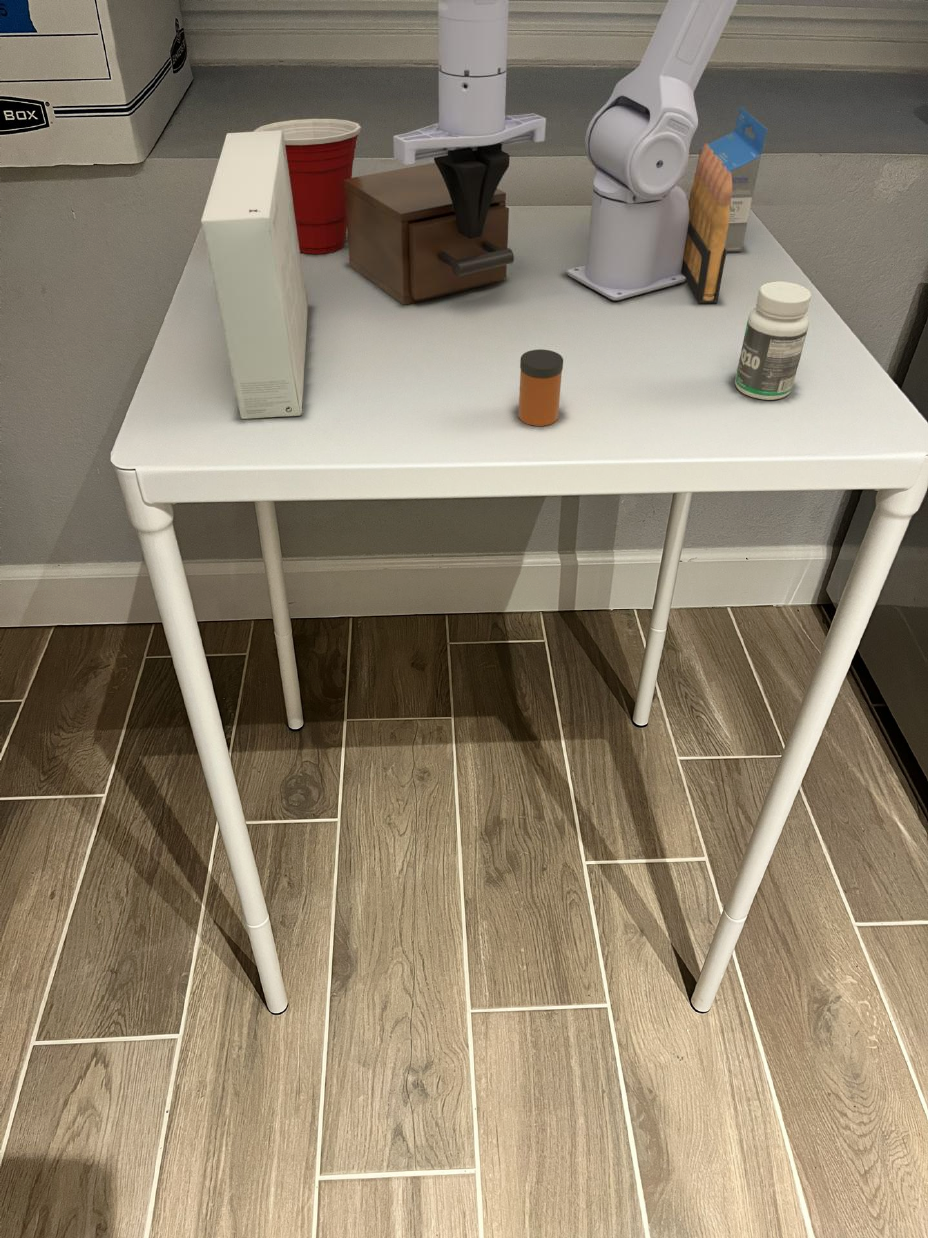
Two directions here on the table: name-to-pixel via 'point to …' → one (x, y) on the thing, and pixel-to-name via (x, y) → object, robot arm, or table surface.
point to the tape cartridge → (740, 172)
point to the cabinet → (394, 222)
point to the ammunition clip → (707, 227)
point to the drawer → (457, 253)
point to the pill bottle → (773, 341)
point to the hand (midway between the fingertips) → (470, 234)
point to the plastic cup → (319, 178)
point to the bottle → (540, 387)
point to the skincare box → (258, 273)
